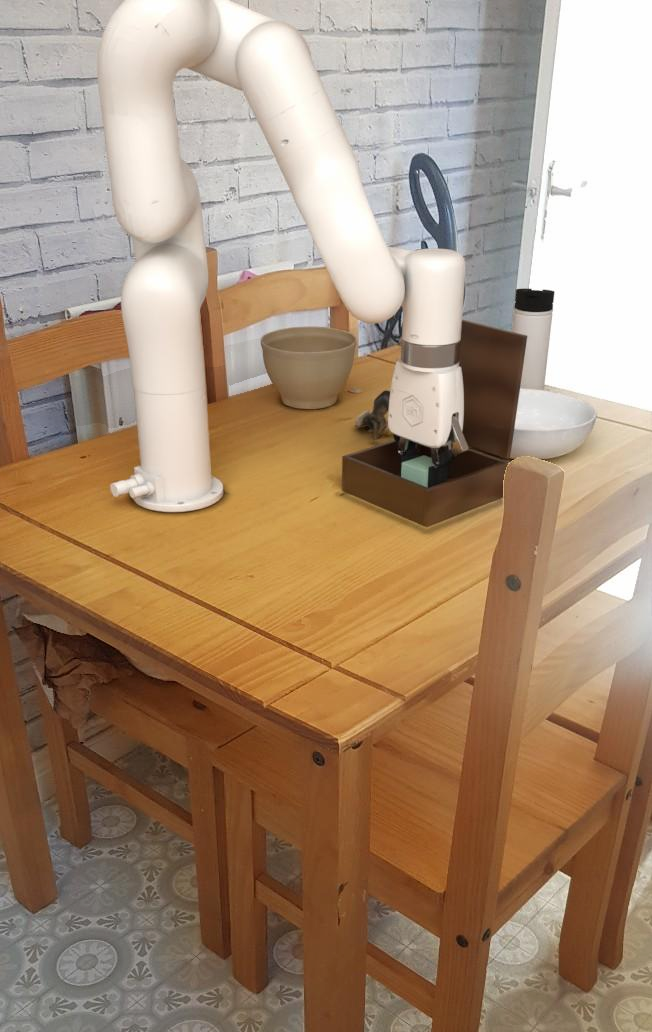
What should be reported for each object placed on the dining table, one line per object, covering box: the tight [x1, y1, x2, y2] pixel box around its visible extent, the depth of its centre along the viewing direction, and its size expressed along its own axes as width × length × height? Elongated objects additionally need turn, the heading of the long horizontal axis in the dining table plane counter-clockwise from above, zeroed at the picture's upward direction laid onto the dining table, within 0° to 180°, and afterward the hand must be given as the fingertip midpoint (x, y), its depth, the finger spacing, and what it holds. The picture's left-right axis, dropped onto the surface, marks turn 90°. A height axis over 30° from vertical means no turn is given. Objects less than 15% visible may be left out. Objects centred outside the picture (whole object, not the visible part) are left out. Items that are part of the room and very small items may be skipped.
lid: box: [459, 319, 527, 460], centre depth 142 cm, size 16×16×5 cm
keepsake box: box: [341, 439, 509, 528], centre depth 142 cm, size 15×16×6 cm
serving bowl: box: [509, 389, 598, 460], centre depth 158 cm, size 21×21×7 cm
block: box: [401, 455, 433, 488], centre depth 142 cm, size 4×4×4 cm
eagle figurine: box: [354, 389, 391, 442], centre depth 164 cm, size 8×7×9 cm
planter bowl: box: [260, 325, 357, 410], centre depth 177 cm, size 16×16×11 cm
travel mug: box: [511, 288, 555, 391], centre depth 171 cm, size 6×7×20 cm
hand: (423, 485), depth 143 cm, fingers closed on block, 4 cm apart
